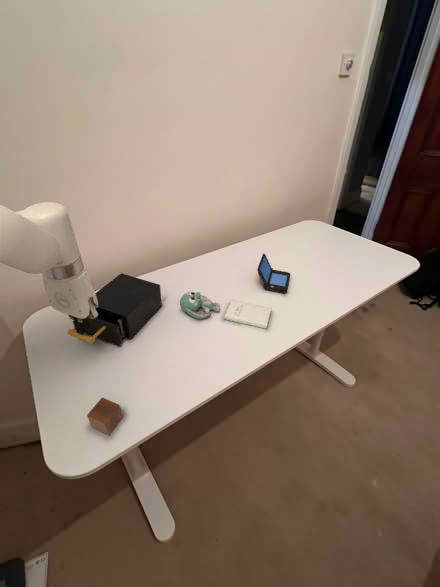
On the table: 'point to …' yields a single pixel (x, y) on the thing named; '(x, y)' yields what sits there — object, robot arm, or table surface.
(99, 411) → the block
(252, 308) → the hard drive
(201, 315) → the stuffed animal
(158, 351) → the table surface
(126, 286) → the cabinet
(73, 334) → the drawer
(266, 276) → the handheld console
